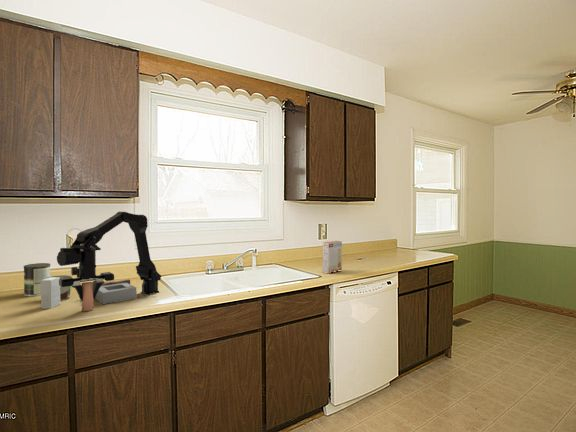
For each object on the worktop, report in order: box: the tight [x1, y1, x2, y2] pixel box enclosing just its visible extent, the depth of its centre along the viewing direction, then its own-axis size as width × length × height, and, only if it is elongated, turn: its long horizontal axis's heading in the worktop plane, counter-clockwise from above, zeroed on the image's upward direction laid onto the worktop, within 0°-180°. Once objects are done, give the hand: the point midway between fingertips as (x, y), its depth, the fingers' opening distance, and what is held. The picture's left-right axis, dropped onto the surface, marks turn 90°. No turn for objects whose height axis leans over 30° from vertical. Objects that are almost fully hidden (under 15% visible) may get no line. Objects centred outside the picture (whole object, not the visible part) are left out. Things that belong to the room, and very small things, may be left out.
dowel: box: [81, 281, 94, 312], centre depth 132 cm, size 4×4×11 cm
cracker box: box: [322, 240, 343, 274], centre depth 219 cm, size 14×6×21 cm, turn 133°
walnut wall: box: [101, 279, 131, 286], centre depth 156 cm, size 18×2×6 cm, turn 135°
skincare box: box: [40, 277, 61, 310], centre depth 137 cm, size 6×4×12 cm
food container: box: [44, 274, 73, 301], centre depth 150 cm, size 12×6×10 cm, turn 92°
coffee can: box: [23, 262, 51, 297], centre depth 157 cm, size 10×10×14 cm
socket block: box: [94, 283, 137, 305], centre depth 151 cm, size 14×14×5 cm
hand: (87, 299), depth 132 cm, fingers closed on dowel, 4 cm apart
